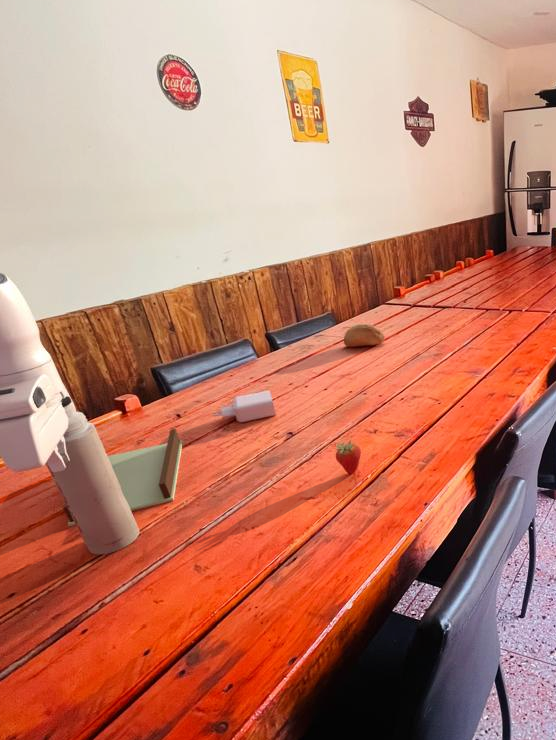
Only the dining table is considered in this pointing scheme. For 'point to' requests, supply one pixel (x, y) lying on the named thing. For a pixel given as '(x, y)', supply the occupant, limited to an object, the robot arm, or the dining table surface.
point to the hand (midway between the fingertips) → (61, 467)
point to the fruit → (348, 456)
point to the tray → (146, 474)
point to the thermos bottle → (93, 488)
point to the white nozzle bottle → (249, 407)
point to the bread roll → (363, 335)
